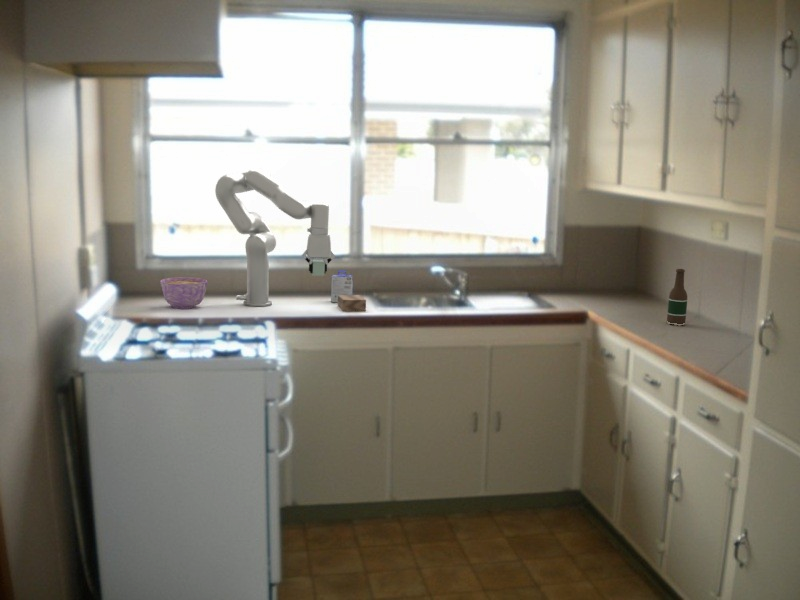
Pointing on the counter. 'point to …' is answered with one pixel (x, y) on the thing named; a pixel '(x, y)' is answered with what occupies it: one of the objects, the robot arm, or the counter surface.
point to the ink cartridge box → (341, 285)
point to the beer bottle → (677, 300)
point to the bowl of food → (183, 291)
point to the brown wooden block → (351, 303)
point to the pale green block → (318, 268)
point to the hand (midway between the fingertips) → (317, 272)
